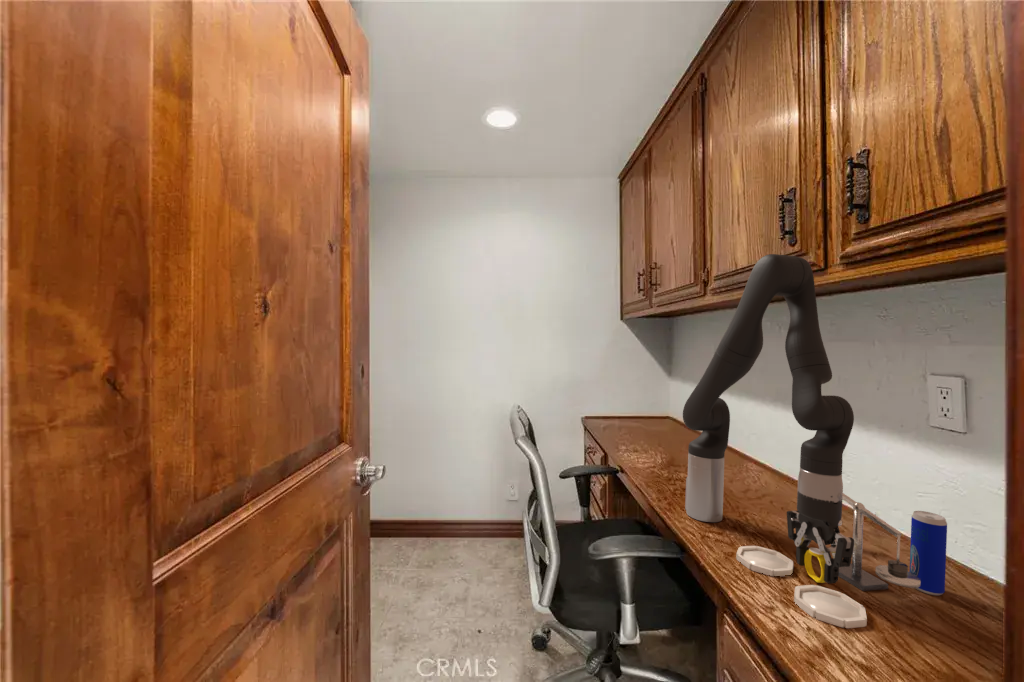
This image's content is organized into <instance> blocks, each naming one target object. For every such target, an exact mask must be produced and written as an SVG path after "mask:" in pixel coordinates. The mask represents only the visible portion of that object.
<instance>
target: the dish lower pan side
mask: <svg viewBox="0 0 1024 682" xmlns="http://www.w3.org/2000/svg"><path fill="white" fill-rule="evenodd" d="M793 595H794V596H793V603H794V602H795V603H794V604H795V605H796V604H797V605H798V606H799V607H798V606H797V605H796V606H797V607H798V608H800V609H801V610H802V611H804V612H805V613H806V614H807V615H809V616H810V617H812V618H815V617H816V618H815V620H817V621H821V622H824V623H827V624H830V625H832V626H833V625H834V626H835V627H839V628H842V629H844V628H846V629H854V628H865V627H867V625H868V623H867V622H868V618H867V613H866V607H864V605H863V604H860V603H859V602H857V601H856V600H854V599H853V598H851V597H850V596H848V595H847V594H845V593H842V592H841V591H837V590H834V589H831V588H827V587H824V586H821V585H817V584H804V585H796V586H794V594H793Z"/></svg>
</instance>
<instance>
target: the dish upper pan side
mask: <svg viewBox="0 0 1024 682" xmlns="http://www.w3.org/2000/svg"><path fill="white" fill-rule="evenodd" d="M735 555H736V557H735V559H736V561H738V562H739V563H740V562H741V563H740V564H741V565H743V566H744V567H746V568H747V569H748V570H750V571H753V572H755V573H759V574H762V573H763V574H762V575H765V576H766V575H767V576H769V575H770V576H769V577H774V576H780V577H786V576H785V575H791V574H792V573H793V571H794V561H793V560H792V559H790V558H789V557H787V556H786V555H784V554H782V553H781V552H779V551H777V550H775V549H770V548H767V547H763V546H760V545H759V546H758V545H742V546H739V547H738V548H737V551H736V554H735ZM792 575H793V574H792ZM792 575H791V576H792Z"/></svg>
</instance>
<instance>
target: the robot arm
mask: <svg viewBox="0 0 1024 682" xmlns="http://www.w3.org/2000/svg"><path fill="white" fill-rule="evenodd" d="M751 269H752V270H751V272H750V274H749V276H748V279H747V281H746V284H745V287H744V290H743V292H742V295H741V297H740V300H739V303H738V305H737V308H736V310H735V312H734V314H733V316H732V318H731V321H730V322H729V325H728V327H727V329H726V330H725V332H724V334H723V336H722V338H721V340H720V342H719V343H718V346H717V348H716V349H715V352H714V354H713V357H712V358H711V360H710V362H709V364H708V365H707V367H706V369H705V371H704V373H703V374H702V377H701V379H700V380H699V382H698V383H697V385H696V386H695V388H694V389H693V390H692V391H691V392H692V393H691V394H690V395H689V397H688V398H687V399H686V401H685V403H684V407H683V409H682V421H683V423H684V425H685V427H686V428H688V429H689V430H691V431H696V432H698V431H699V432H701V433H700V435H699V436H698V437H696V438H695V439H693V440H692V441H690V442H689V443H688V449H687V450H688V451H687V453H688V456H687V457H688V459H687V476H686V477H685V500H684V501H685V503H684V504H685V505H684V507H685V508H684V510H686V512H685V513H686V514H687V516H689V517H690V518H692V519H694V520H697V521H699V522H704V523H705V522H707V523H719V522H721V521H722V520H723V512H724V511H723V509H724V488H725V487H724V482H725V455H726V451H727V448H728V444H729V437H730V436H729V435H730V423H731V413H730V408H729V406H728V404H727V402H726V401H725V400H724V399H723V398H721V396H722V395H723V394H724V393H725V391H728V389H729V388H731V387H732V386H734V385H735V384H736V383H737V382H739V381H740V380H741V379H742V378H744V377H745V376H746V375H747V374H748V373H749V372H750V371H751V369H752V368H753V366H754V364H755V363H756V361H757V359H758V358H759V357H760V354H761V353H762V349H763V347H764V333H763V331H764V330H763V318H764V315H765V313H766V311H767V308H768V306H769V304H770V303H771V301H773V299H774V297H775V296H777V297H783V299H784V300H785V302H786V305H787V307H788V309H789V323H788V324H789V325H788V329H787V334H786V338H785V345H784V346H785V347H784V348H785V356H786V360H787V362H788V366H789V370H790V374H791V377H792V383H791V384H792V386H791V411H792V414H793V417H794V419H795V420H796V422H797V423H798V424H799V425H800V426H801V427H802V428H803V429H805V430H809V431H816V432H815V434H814V436H813V437H811V438H809V439H807V440H805V441H803V442H802V443H801V447H800V457H799V458H800V460H799V472H798V477H797V490H796V491H797V495H796V510H787V511H786V522H787V523H786V524H787V536H788V539H789V540H790V541H791V540H792V541H793V542H794V545H795V548H796V550H795V559H796V564H797V565H799V566H804V567H805V564H804V555H805V553H806V551H807V550H809V548H810V547H809V546H810V544H811V542H812V541H813V542H814V543H816V544H817V545H818V549H820V551H821V552H822V553H823V555H824V558H825V561H826V564H825V571H824V581H825V583H827V584H829V585H832V584H837V583H838V581H839V578H840V577H839V567H849V566H850V564H852V553H853V548H854V539H853V537H852V536H850V537H848V536H846V535H843V533H841V531H840V528H839V527H840V526H838V523H839V521H840V520H842V517H843V499H842V498H843V493H844V492H843V491H844V484H843V455H844V451H845V449H846V446H847V444H848V442H849V439H850V436H851V433H852V430H853V426H854V422H855V415H854V411H853V408H852V406H851V404H850V403H849V401H848V400H847V399H845V398H844V397H841V396H839V395H822V385H824V384H827V383H829V382H830V381H831V380H832V378H833V373H832V372H833V371H832V368H831V364H830V361H829V358H828V355H827V352H826V349H825V345H824V341H823V338H822V334H821V328H820V322H819V314H818V305H817V297H816V286H815V278H814V273H813V269H812V266H811V264H810V263H809V261H808V260H806V259H805V258H803V257H801V256H796V255H789V254H787V255H785V254H776V253H775V254H774V253H770V254H766V255H764V256H762V257H761V258H760V259H758V260H757V261H756V263H755V264H754V266H753V268H751ZM828 545H830V547H829V546H828ZM831 555H832V556H831Z"/></svg>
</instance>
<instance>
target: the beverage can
mask: <svg viewBox="0 0 1024 682" xmlns="http://www.w3.org/2000/svg"><path fill="white" fill-rule="evenodd" d="M910 520H911V521H910V522H911V523H910V524H911V525H910V546H909V547H910V549H909V550H910V553H909V555H910V556H909V572H910V573H912V574H914V575H916V576H917V577H918V578H919V579H920V580H921V585H920V587H918V588H914V589H916V590H917V591H919V592H921V593H924V594H926V595H930V596H938V597H939V596H942V595H943V594H944V593H945V592H946V567H947V564H946V563H947V541H948V537H947V536H948V523H947V519H946V517H944V516H942V515H940V514H936V513H934V512H930V511H924V510H914V511H913V513H912V515H911V519H910Z"/></svg>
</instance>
